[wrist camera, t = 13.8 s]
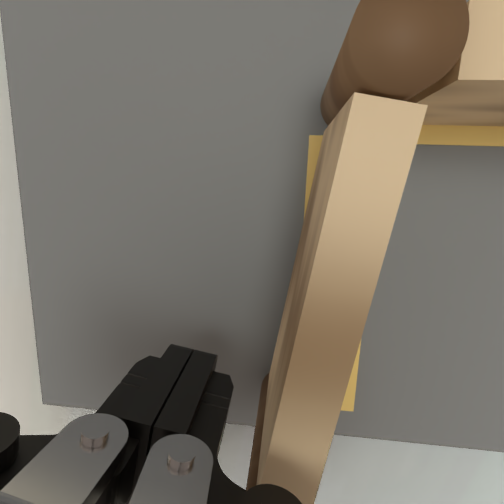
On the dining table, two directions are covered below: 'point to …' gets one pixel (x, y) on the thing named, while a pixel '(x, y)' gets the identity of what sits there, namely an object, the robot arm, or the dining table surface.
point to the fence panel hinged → (332, 288)
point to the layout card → (237, 211)
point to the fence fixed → (424, 59)
